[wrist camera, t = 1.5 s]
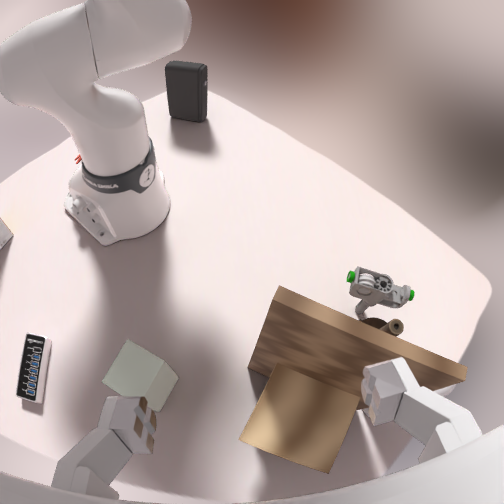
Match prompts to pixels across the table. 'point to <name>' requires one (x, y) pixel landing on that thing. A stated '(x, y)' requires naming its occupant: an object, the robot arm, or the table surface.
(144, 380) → the sage cabinet
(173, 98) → the dark grey upright block
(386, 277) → the mechanical component
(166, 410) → the table surface
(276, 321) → the wooden toy chair
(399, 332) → the industrial component
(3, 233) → the small box
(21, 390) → the multiport hub
